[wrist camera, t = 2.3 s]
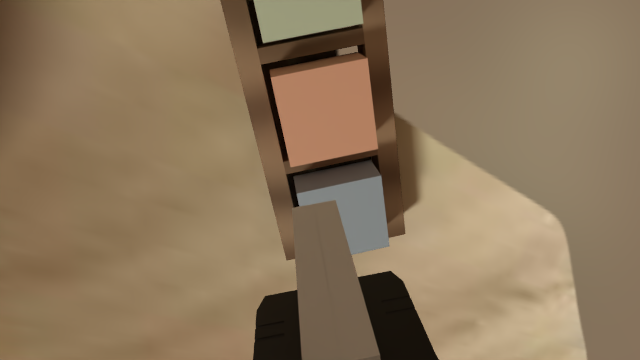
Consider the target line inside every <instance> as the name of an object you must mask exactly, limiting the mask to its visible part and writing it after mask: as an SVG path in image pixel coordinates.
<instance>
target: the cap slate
mask: <svg viewBox="0 0 640 360" xmlns="http://www.w3.org/2000/svg"><path fill="white" fill-rule="evenodd" d="M293 177H294V183H295V188H296V194H297V198H298V203H299V207H300V206H305V205H311V204H316V203H321V202H327V201H332V200H336V203H337V207H338V210H339V214H340V217H341V221H342V224H343V228H344V231H345V235H346V238H347V242H348V245H349V249H350V252H351V255H353V254H357V253H361V252H366V251H370V250H375V249H379V248H384V247H388V246H389V238H388V230H387V221H386V212H385V204H384V195H383V187H382V178H381V174H380V173H379V172H378V170H377V169H376V167H375V166H374V164H373V163H372V161H371V160H367V161H363V162H358V163H353V164H349V165H344V166H339V167H334V168H330V169H325V170H320V171H316V172H311V173H306V174H302V175H297V176H293Z"/></svg>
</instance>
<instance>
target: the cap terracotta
mask: <svg viewBox="0 0 640 360" xmlns="http://www.w3.org/2000/svg"><path fill="white" fill-rule="evenodd" d="M270 76H271V81H272V86H273V90H274V95H275V99H276V104H277V108H278V113H279V117H280V122H281V126H282V131H283V135H284V140H285V144H286V149H287V153H288V158H289V162H290V167H295V166H300V165H305V164H309V163H314V162H319V161H323V160H328V159H333V158H338V157H342V156H347V155H352V154H357V153H361V152H366V151H371V150H375V149H378V144H377V135H376V127H375V118H374V109H373V101H372V92H371V84H370V75H369V66H368V58H366V57H365V56H363V55H361V54H359V53H357V52H355V53H350V54H346V55H340V56H335V57H330V58H325V59H320V60H315V61H310V62H305V63H300V64H295V65H290V66H285V67H280V68H275V69H270Z"/></svg>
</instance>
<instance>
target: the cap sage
mask: <svg viewBox="0 0 640 360" xmlns="http://www.w3.org/2000/svg"><path fill="white" fill-rule="evenodd" d="M254 5H255V9H256V14H257V18H258V23H259V27H260V32H261V36H262V41H263V43H266V42H271V41H276V40H281V39H287V38H292V37H297V36H302V35H307V34H312V33H317V32H322V31H327V30H333V29H338V28H343V27H348V26H353V25H358V24H363V15H362V6H361V0H254Z"/></svg>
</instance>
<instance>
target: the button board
mask: <svg viewBox="0 0 640 360" xmlns="http://www.w3.org/2000/svg"><path fill="white" fill-rule="evenodd" d="M221 4H222V8H223V12H224V16H225V20H226V24H227V28H228V32H229V36H230V40H231V44H232V48H233V51H234V55H235V59H236V63H237V67H238V71H239V75H240V79H241V83H242V87H243V91H244V95H245V99H246V103H247V106H248V110H249V114H250V118H251V122H252V126H253V130H254V134H255V138H256V142H257V146H258V150H259V154H260V157H261V161H262V165H263V169H264V173H265V177H266V181H267V185H268V189H269V193H270V197H271V201H272V205H273V209H274V212H275V216H276V220H277V224H278V228H279V232H280V236H281V240H282V244H283V248H284V252H285V256H286V260H291V259H295V246H294V230H293V215H292V208H295V207H294V203H293V198H292V194H291V190H290V185H289V181H288V177H287V174H290V173H294V172H299V171H304V170H309V169H313V168H318V167H323V166H327V165H332V164H337V163H342V162H346V161H351V160H356V159H360V158H365V157H370V156H371V158H372V163H373V164H374V166H375V167H376V169H377V170H378V172H379V173H380V174H381V178H382V187H383V195H384V204H385V212H386V221H387V230H388V238H390V237H394V236H399V235H403V234H405V226H404V215H403V204H402V194H401V183H400V173H399V162H398V151H397V141H396V130H395V120H394V109H393V99H392V88H391V78H390V68H389V56H388V46H387V35H386V26H385V25H386V24H385V14H384V4H383V0H361V6H362V15H363V24H358V25H355V26H351V27H346V28H340V29H335V30H330V31H325V32H320V33H315V34H310V35H305V36H300V37H295V38H289V39H284V40H279V41H274V42H269V43H264V44H259V45H257V41H256V36H255V32H254V28H253V23H252V19H251V15H250V10H249V6H248V1H247V0H221ZM356 45H357V46H358V53H359V54H361V55H363V56H365V57H366V58H368V66H369V75H370V84H371V92H372V101H373V109H374V118H375V127H376V135H377V144H378V149H375V150H371V151H366V152H361V153H357V154H352V155H347V156H342V157H338V158H333V159H328V160H323V161H319V162H314V163H309V164H305V165H300V166H295V167H290V162H289V158H288V153H287V149H285V150H281V146H280V142H279V137H278V133H277V128H276V124H275V120H274V115H273V111H272V106H271V102H270V98H269V93H268V89H267V85H266V80H265V76H264V71H263V67H262V64H266V63H271V62H276V61H281V60H286V59H291V58H296V57H301V56H306V55H311V54H316V53H321V52H327V51H332V50H337V49H342V48H347V47H351V46H356Z"/></svg>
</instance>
